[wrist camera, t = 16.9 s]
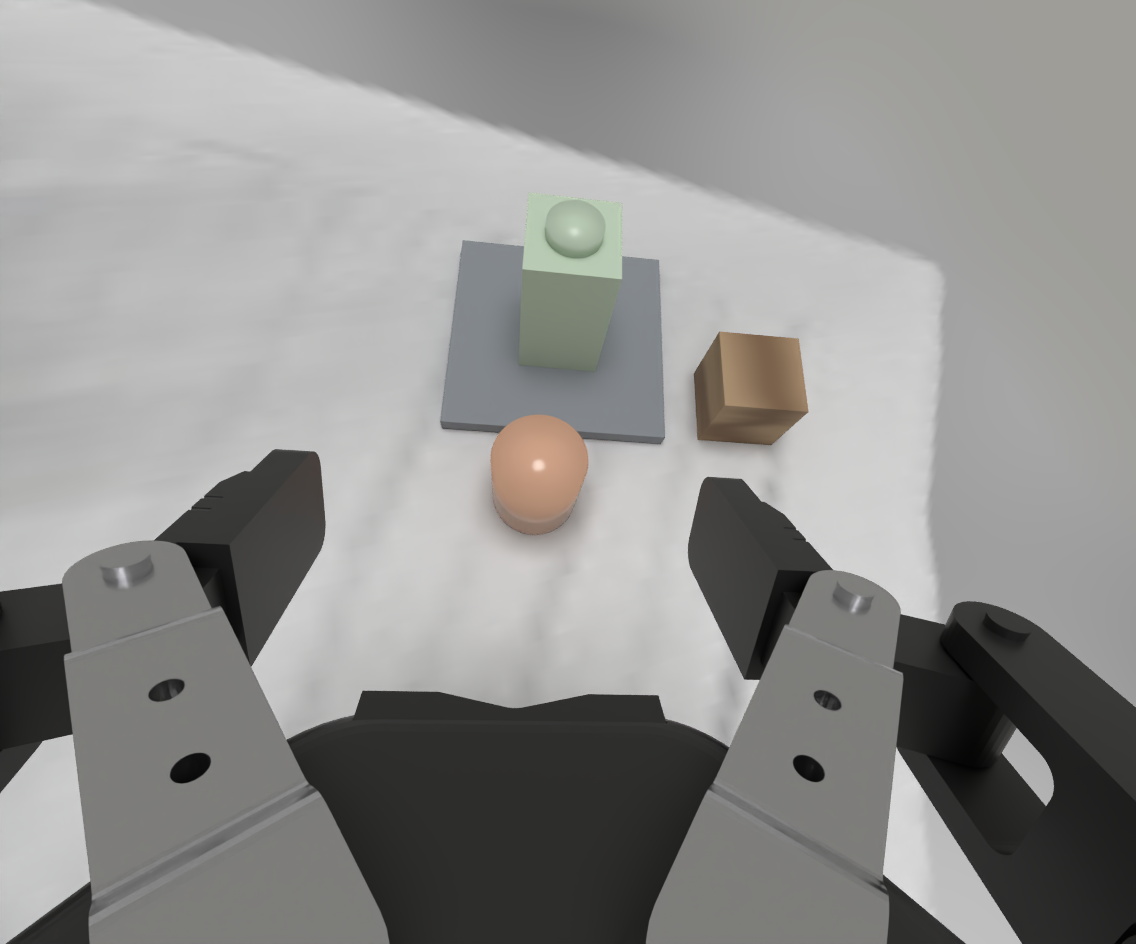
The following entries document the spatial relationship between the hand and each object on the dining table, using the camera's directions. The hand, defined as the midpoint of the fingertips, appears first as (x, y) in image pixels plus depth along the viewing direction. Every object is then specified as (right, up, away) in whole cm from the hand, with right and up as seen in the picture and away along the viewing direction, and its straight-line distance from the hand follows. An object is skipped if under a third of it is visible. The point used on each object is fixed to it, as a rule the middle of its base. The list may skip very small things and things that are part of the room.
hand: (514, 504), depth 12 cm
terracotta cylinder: (-1, -1, +22) cm, 22 cm away
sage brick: (+1, +10, +25) cm, 27 cm away
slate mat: (0, +10, +26) cm, 28 cm away
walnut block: (+12, +5, +26) cm, 29 cm away
